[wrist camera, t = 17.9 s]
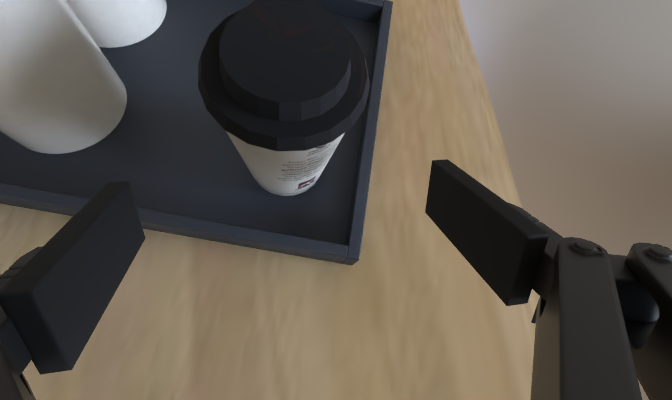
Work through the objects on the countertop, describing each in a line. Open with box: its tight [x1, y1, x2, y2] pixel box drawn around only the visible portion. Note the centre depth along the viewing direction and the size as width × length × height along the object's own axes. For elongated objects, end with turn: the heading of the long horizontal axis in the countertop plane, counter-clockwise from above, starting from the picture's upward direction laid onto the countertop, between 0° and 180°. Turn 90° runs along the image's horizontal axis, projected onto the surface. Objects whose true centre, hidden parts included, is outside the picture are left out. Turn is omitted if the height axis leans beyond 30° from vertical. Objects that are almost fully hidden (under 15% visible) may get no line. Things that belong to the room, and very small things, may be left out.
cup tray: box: [0, 0, 393, 265], centre depth 22 cm, size 24×19×2 cm
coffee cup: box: [198, 0, 370, 196], centre depth 17 cm, size 7×7×10 cm
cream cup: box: [0, 0, 127, 154], centre depth 17 cm, size 7×7×10 cm
